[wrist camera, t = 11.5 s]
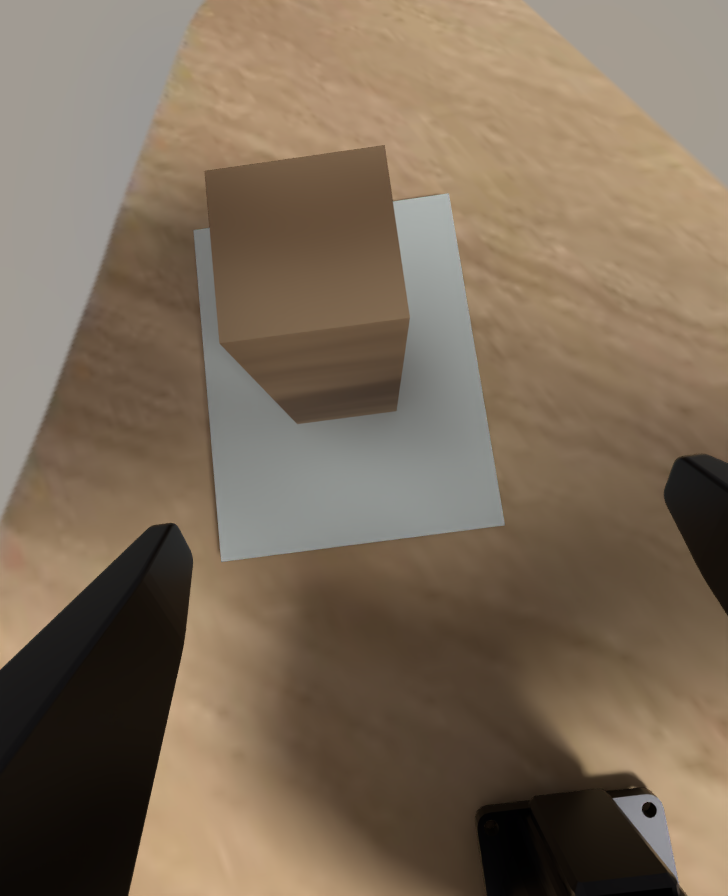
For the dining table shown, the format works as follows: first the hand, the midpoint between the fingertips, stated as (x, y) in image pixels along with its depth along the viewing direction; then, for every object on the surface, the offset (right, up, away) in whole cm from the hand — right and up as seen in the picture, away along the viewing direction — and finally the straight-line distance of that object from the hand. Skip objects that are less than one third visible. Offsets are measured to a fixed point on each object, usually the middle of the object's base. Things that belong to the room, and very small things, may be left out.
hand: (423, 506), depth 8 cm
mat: (-2, +4, +11) cm, 12 cm away
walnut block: (-2, +4, +10) cm, 11 cm away
